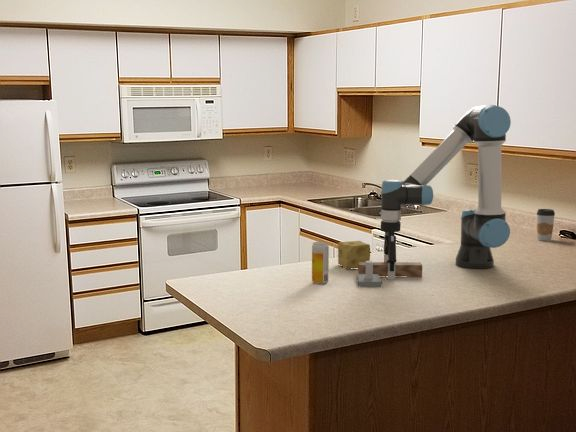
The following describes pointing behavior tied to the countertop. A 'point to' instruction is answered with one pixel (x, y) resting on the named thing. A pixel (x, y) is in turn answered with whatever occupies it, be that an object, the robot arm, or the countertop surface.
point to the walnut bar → (400, 268)
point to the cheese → (353, 253)
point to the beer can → (320, 262)
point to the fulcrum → (369, 277)
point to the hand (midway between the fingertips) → (389, 275)
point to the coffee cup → (545, 224)
